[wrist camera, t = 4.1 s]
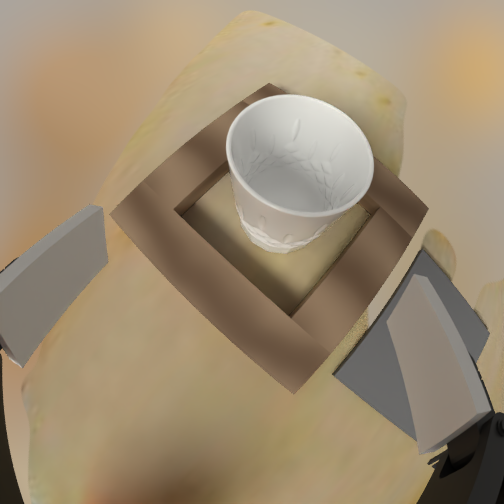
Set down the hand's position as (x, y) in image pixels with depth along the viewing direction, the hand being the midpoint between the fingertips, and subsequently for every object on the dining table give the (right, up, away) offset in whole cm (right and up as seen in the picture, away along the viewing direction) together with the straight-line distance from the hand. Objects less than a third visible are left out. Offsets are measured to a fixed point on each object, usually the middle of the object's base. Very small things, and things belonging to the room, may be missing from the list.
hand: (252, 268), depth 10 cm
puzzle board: (+2, +4, +12) cm, 13 cm away
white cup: (+2, +4, +12) cm, 13 cm away
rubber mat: (+16, -9, +10) cm, 21 cm away
